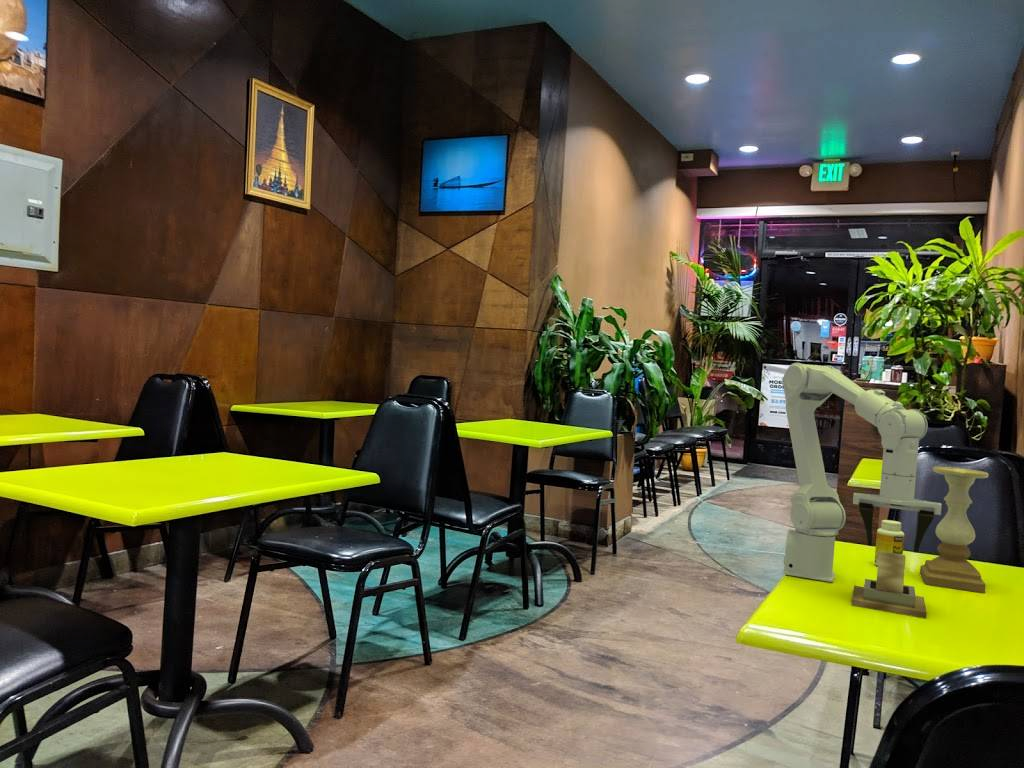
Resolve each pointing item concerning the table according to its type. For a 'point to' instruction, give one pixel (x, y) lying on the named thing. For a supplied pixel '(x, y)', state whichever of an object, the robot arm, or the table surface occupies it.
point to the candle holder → (955, 536)
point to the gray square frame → (889, 595)
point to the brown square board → (917, 611)
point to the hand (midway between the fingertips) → (892, 548)
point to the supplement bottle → (889, 538)
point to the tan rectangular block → (890, 572)
